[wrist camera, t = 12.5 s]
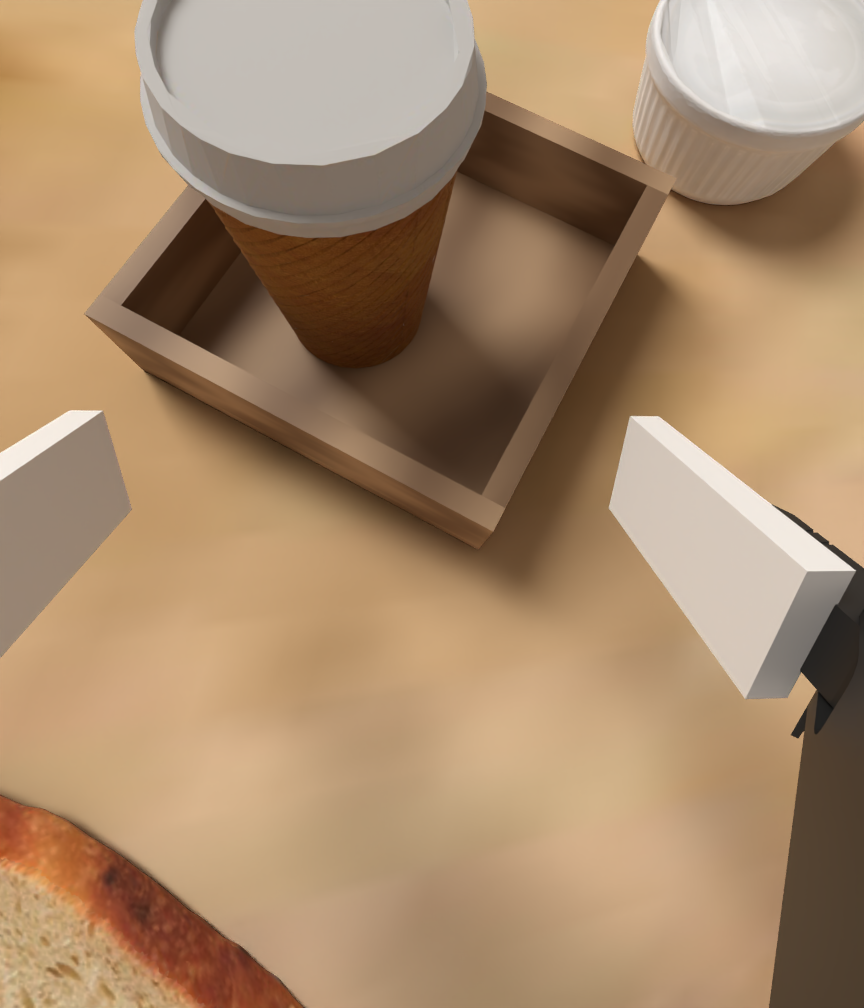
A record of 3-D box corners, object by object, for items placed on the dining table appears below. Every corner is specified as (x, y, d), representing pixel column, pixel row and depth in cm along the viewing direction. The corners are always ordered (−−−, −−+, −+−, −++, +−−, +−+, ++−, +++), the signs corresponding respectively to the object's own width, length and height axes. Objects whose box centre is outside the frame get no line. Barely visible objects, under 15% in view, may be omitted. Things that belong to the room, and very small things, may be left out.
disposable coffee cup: (411, 431, 23) (409, 237, 12) (220, 357, 24) (38, 100, 12) (483, 264, 26) (543, -38, 14) (307, 199, 26) (224, -145, 14)
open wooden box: (142, 369, 25) (83, 313, 20) (337, 111, 29) (323, 17, 24) (478, 549, 23) (493, 531, 19) (634, 250, 27) (676, 178, 23)
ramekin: (572, 129, 29) (606, 22, 24) (702, 35, 31) (760, -82, 26) (720, 262, 27) (791, 177, 22) (849, 153, 29) (941, 53, 24)
